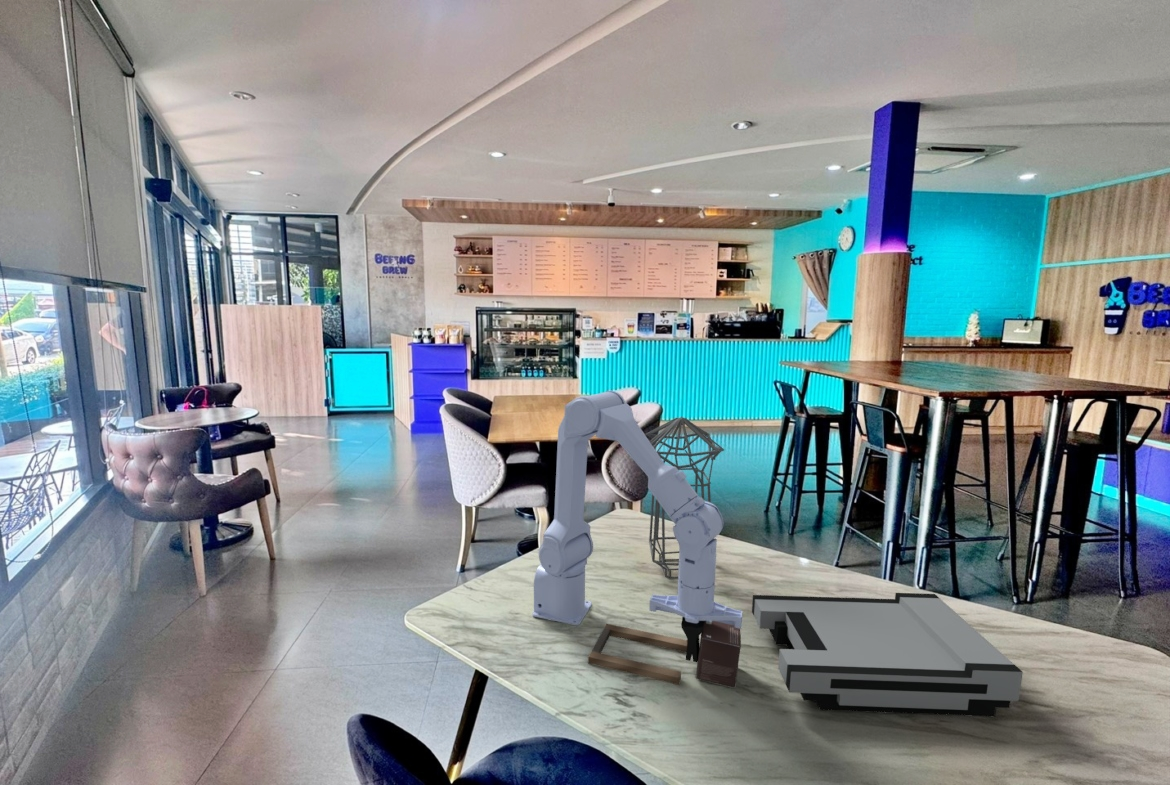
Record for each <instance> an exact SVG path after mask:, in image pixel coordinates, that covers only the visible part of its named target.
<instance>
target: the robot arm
mask: <svg viewBox="0 0 1170 785" xmlns="http://www.w3.org/2000/svg"><path fill="white" fill-rule="evenodd" d="M557 430H558V431H557V450H556V472H555V474H556V475H555V491H554V493H555V494H554V495H555V496H554V511H553V512H554V515H553V520H552V521H551V523H550V524H549V526H548V527H547V529H546V530H545V531H544V533H543V538H542V543H541V545H540V547H539V548H538V560H539V563H540V564H539V565H538V567H537V568H536V571H535V574H534V579H533V612H532V614H531V615H532V617H535V618H538V619H539V618H540V619H543V620H544V619H545V620H549V621H554V622H559V623H563V624H567V625H568V624H569V625H573V626H579V625H580V624H581V623H582V621H583V619H584V618H585V616H586V614H587V613H588V611H589V610H590V609H591V607H592V606H593V602H591V601H590V600H589V601H588V600H586V566H587V565H588V558H589V557H591V556H592V554H593V552H594V542H593V539H592V538H593V537H592V535H591V525H590V524H589V523H588V522H586V521H585V520H584V518H585V517H584V515H585V514H584V513H585V497H586V481H587V478H586V477H587V467H588V466H587V464H588V463H587V462H588V447H589V444H588V443H589V440H591V439H592V438H593V437H596V438H599V439H604V440H609V441H615V442H617V443H618V444H619V445H620V446H621V447H622V449H624V451H625V452H626V454H627V455H629V456H630V458H631V459H632V460H633V461H634V462H635V464H636V465H637V466H638V467H639V468H640V469H641V470H642V471H643V472H644V474H645V475H646V476H647V478H648V481H647V482H648V483H647V489H648V490H649V492H650V493H651V495H652V494H653V496H654V499H655V501H656V500H657V501H658V502H659V504H660V507H661V509H662V508H663V509H664V513H666V514H667V515H668V517H669V518H670V519H671V521H672V522H673V524H674V526H672V532H673V535H674V536H673V537H675V538H676V539H675V540H676V541H677V544H678V546H679V549H678V551H679V553H678V554H679V555H678V559H679V561H678V563H679V566H678V568H679V570H678V575H677V576H678V578H677V595H660V594H651V596H650V599H649V605H648V606H649V608H648V609H649V612H657V611H659V612H666V613H670V614H675V615H677V616H680V617H682V619H681V623H680V624H681V629H682V631H683V633H684V634H685V636H686V640H687V650H686V652H685V660H686V661H689V662H691V660H692V662H694V663H698V655H699V647H700V636H701V632H702V630H703V628H704V624H705V621H715V622H720V623H726V624H731V625H734V627H735V628H739V629H740V630H741V629H742V625H743V614H744V612H743V610H739V609H735V608H732V607H730V606H727V605H723V604H721V603H719V602H716V601H715V588H716V585H715V584H716V568H717V567H716V565H717V564H716V563H717V546H718V545H717V542H718V541H717V538H716V537H717V536H719V535H720V533H721V532H722V530H723V528H724V518H723V515H722V513H721V511H720V510H719V508H718V506H716V504H714V503H712V502H711V503H710V502H708V501H706V500H705V499H704V500H703V498H702V497H701V496H699V494H698V492H697V493H696V492H695V488H693V486H691V485H692V484H690V483H689V482H688V480H687V479H686V478H687V475H686V474H685V472H684V470H678V469H677V468H676V467H674V466H672V465H670V464H669V465H668V464H665V463H664V462H663V461H664V460H663V459H662V458H660V456H659V455H658V453H657V450H656V448H655V449H654V447H653V446H654V445H652V444H651V443H650V442H649V441H650V440H649V438H647V436H645V434H646V433H644V431H643V429H642V427H640V424H638V423H637V421H636V419H635V417H634V412H633V409H632V406H630V405H629V404H628V403H627V402H626V401H625V399H624V397H623V395H621V393H619V392H617V391H616V390H607V391H604V392H600V393H596V394H590V395H586V396H578V397H575V398H574V399H573V400H571V401H570V402H568V403H567V404H565V405H564V416H563V418H562V420H561V422H560V424H559V426H558V428H557Z"/></svg>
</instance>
